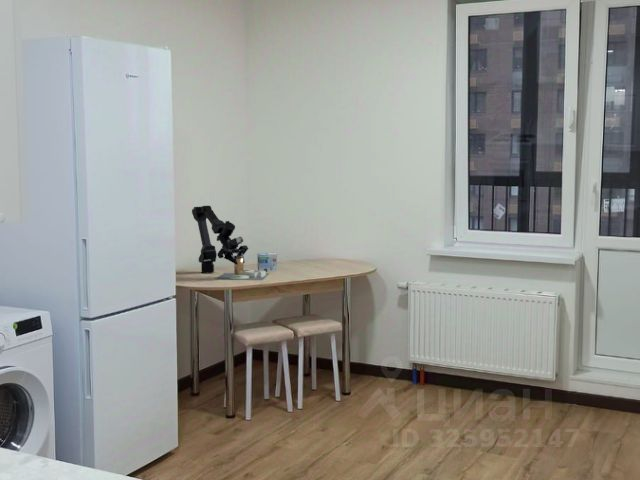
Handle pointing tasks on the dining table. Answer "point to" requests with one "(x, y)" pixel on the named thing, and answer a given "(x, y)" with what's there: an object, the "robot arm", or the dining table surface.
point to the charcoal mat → (226, 277)
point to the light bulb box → (267, 262)
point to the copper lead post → (239, 265)
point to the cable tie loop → (255, 273)
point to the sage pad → (239, 277)
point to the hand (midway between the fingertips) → (240, 263)
